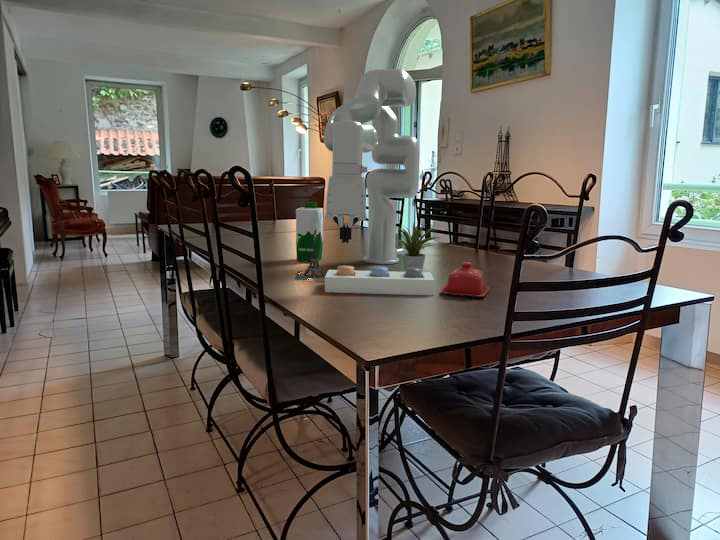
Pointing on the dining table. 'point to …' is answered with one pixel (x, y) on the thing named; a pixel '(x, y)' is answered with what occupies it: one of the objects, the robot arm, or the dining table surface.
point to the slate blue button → (379, 271)
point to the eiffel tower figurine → (312, 267)
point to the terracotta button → (345, 271)
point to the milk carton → (309, 231)
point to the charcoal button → (413, 272)
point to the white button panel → (379, 283)
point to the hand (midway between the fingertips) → (345, 242)
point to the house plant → (414, 247)
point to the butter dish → (466, 282)
